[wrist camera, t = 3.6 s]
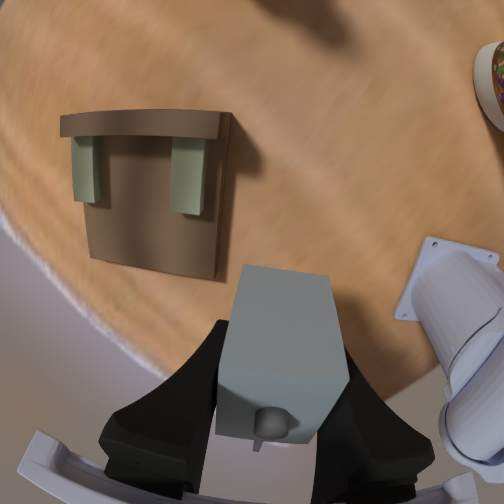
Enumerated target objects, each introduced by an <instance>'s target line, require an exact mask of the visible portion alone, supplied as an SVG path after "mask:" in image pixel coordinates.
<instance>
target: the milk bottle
mask: <svg viewBox="0 0 504 504" xmlns="http://www.w3.org/2000/svg"><path fill="white" fill-rule="evenodd" d="M473 81H474V87H475V91H476V95H477V98H478V100H479V103H480V105H481V107H482V109H483V111H484V113H485V114H486V116H487V117H488V119H489V120H490V121H491V122H492V123H493V124H494V125H495V126H496V127H497V128H498V129H500V130H501V131H503V132H504V41H502V42H496V43H491V44H487V45H485V46H483V47H482V48H481V49H480V50H479V52H478V53H477V55H476V58H475V60H474V65H473Z"/></svg>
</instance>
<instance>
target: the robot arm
mask: <svg viewBox="0 0 504 504" xmlns="http://www.w3.org/2000/svg"><path fill="white" fill-rule="evenodd" d="M434 242H436V243H435V245H433V246H432V244H433V243H434ZM489 255H490V256H489ZM498 261H499V254H498V253H496V252H493V251H489V250H485V249H482V248H478V247H474V246H470V245H466V244H462V243H457V242H453V241H449V240H445V239H441V238H436V237H432V236H428V237H426V238H425V239H424V241H423V244H422V246H421V249H420V252H419V255H418V257H417V260H416V263H415V265H414V268H413V270H412V273H411V275H410V278H409V280H408V282H407V285H406V287H405V290H404V292H403V294H402V296H401V299H400V301H399V303H398V305H397V308H396V310H395V312H394V317H395V319H397V320H407V321H420V323H421V324H422V326H423V328H424V330H425V332H426V334H427V336H428V338H429V340H430V342H431V345H432V347H433V349H434V351H435V353H436V355H437V357H438V359H439V362H440V364H441V366H442V368H443V370H444V373H445V375H446V377H447V379H448V382H447V384H446V386H445V387H444V389H443V392H444V394H445V397H446V400H447V403H446V404H445V405H444V406H443V408H442V410H441V412H440V416H439V433H440V436H441V440H442V442H443V444H444V447H445V448H446V450H447V451H448V453H449V454H450V455H451V456H452V457H453V458H454V459H455V460H456V461H458V462H459V463H461V464H463V465H465V466H468V467H471V468H472V469H474V470H475V471H477V472H478V473H479V474H480V475H481V477H482V478H483V479H484V480H485V481H486V482H488V483H504V272H503V271H502V270H501V269H500V268H499V267H498V266H497V263H498ZM403 314H405V315H403ZM402 315H403V316H402ZM228 325H229V321H226V320H220V319H219V320H217V321H216V323H215V325H214V327H213V329H212V330H211V332H210V333H209V335H208V336H207V337H206V339H205V340H204V341H203V343H202V344H201V345H200V346H199V348H198V349H197V350H196V351H195V353H194V354H193V355H192V356H191V357H190V358H189V359H188V360H187V361H186V362H185V364H184V365H183V366H182V367H180V368H179V369H178V370H177V371H176V372H175V373H174V374H173V375H172V376H171V377H170V378H168V379H167V380H166V381H165V382H163V383H162V384H161V385H160V386H158V387H157V388H156V389H154V390H153V391H151V392H150V393H148V394H147V395H145V396H143V397H142V398H141V399H139V400H137V401H135V402H134V403H132V404H130V405H128V406H126V407H124V408H122V409H120V410H118V411H116V412H114V413H113V414H112V416H111V417H110V419H109V420H108V422H107V423H106V425H105V427H104V429H103V431H102V433H101V436H100V438H99V441H98V442H99V444H100V446H101V448H102V449H103V450H104V452H105V453H106V454H107V455H108V457H109V460H108V463H107V465H106V467H105V466H103V465H100V464H98V463H96V462H93V461H91V460H88V459H86V458H84V457H82V456H80V455H78V454H76V453H74V452H72V451H70V450H69V449H68V448H67V446H66V445H64V444H63V443H62V442H60V441H59V440H57V439H55V438H54V437H52V436H50V435H48V434H47V433H45V432H43V431H41V430H37V432H36V434H35V435H34V437H33V439H32V441H31V443H30V445H29V447H28V449H27V451H26V453H25V455H24V457H23V459H22V461H21V463H20V465H19V467H18V469H17V472H18V473H19V474H21V475H22V476H24V477H25V478H26V479H28V480H29V481H31V482H32V483H34V484H35V485H37V486H38V487H40V488H41V489H43V490H45V491H46V492H48V493H50V494H51V495H53V496H55V497H57V498H59V499H60V500H62V501H64V502H66V503H67V504H265V503H252V502H243V501H235V500H227V499H221V498H215V497H209V496H203V495H198V494H199V488H200V482H201V476H202V470H203V465H204V460H205V454H206V449H207V443H208V438H209V433H210V428H211V423H212V418H213V415H214V411H215V408H216V405H217V389H218V373H219V363H220V359H221V355H222V350H223V346H224V342H225V338H226V333H227V329H228ZM343 346H344V344H343ZM344 351H345V356H346V361H347V367H348V373H349V379H350V380H349V382H348V383H347V385H346V387H345V388H344V390H343V392H342V393H341V395H340V397H339V398H338V400H337V401H336V403H335V405H334V406H333V408H332V409H331V411H330V412H329V414H328V416H327V417H326V419H325V420H324V422H323V423H322V425H321V426H320V428H319V429H318V430H317V453H316V468H315V476H314V485H313V492H312V498H311V503H310V504H479V501H478V496H477V491H476V487H475V482H474V479H473V474H472V471H468V472H465V473H463V474H460V475H457V476H454V477H452V478H450V479H448V480H447V481H445V482H444V483H443V484H441V485H437V486H433V487H430V488H426V489H423V490H419V491H415V485H414V483H416V482H417V480H418V479H417V474H418V473H419V472H421V471H422V470H424V469H425V468H426V467H428V466H429V465H430V464H432V462H433V461H434V460H435V455H434V450H433V447H432V443H431V441H430V439H428V438H427V437H425V436H424V435H422V434H421V433H419V432H418V431H416V430H414V429H413V428H412V427H411V426H409V425H408V424H407V423H406V422H404V421H403V420H402V419H401V418H400V417H399V416H398V415H396V414H395V413H394V412H393V411H392V410H391V409H390V408H389V407H388V406H387V405H386V404H385V403H384V402H383V400H382V399H381V398H380V397H379V396H378V395H377V394H376V392H375V391H374V390H373V389H372V387H371V386H370V385H369V383H368V382H367V381H366V379H365V378H364V376H363V375H362V373H361V372H360V370H359V369H358V367H357V366H356V364H355V363H354V361H353V359H352V358H351V356H350V354H349V353H348V351H347V349H346V348H345V346H344Z"/></svg>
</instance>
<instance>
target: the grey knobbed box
mask: <svg viewBox="0 0 504 504" xmlns="http://www.w3.org/2000/svg"><path fill="white" fill-rule="evenodd" d="M349 380H350V379H349V373H348V367H347V361H346V356H345V351H344V346H343V340H342V335H341V330H340V326H339V321H338V316H337V311H336V307H335V302H334V298H333V293H332V289H331V285H330V280H329V276H324V275H317V274H310V273H303V272H296V271H289V270H282V269H275V268H268V267H262V266H255V265H248V264H243V266H242V270H241V275H240V279H239V283H238V287H237V291H236V296H235V300H234V304H233V308H232V312H231V316H230V321H229V325H228V329H227V333H226V338H225V342H224V346H223V350H222V355H221V359H220V363H219V373H218V389H217V407H216V427H215V434H216V435H223V436H229V437H235V438H242V439H249V440H254V445H253V451H256V452H259V450H260V448H261V445H262V443H263V441H267V442H279V443H293V444H308V443H309V442H310V440H311V439H312V438H313V436H314V435H315V433H316V432H317V430H318V429H319V428H320V426H321V425H322V423H323V422H324V420H325V419H326V417H327V416H328V414H329V412H330V411H331V409H332V408H333V406H334V405H335V403H336V401H337V400H338V398H339V397H340V395H341V393H342V392H343V390H344V388H345V387H346V385H347V383H348V382H349Z"/></svg>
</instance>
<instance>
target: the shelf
mask: <svg viewBox="0 0 504 504" xmlns="http://www.w3.org/2000/svg"><path fill="white" fill-rule="evenodd" d="M230 120H231V113H230V112H217V111H202V110H176V109H138V110H113V111H98V112H87V113H78V114H70V115H63V116H60V137H71V153H72V178H73V192H74V201H79V202H84V213H85V222H86V231H87V238H88V246H89V252H90V258H93V259H98V260H103V261H108V262H113V263H118V264H123V265H129V266H134V267H139V268H145V269H150V270H156V271H161V272H167V273H172V274H178V275H184V276H190V277H196V278H202V279H208V280H214V278H215V276H216V273H217V262H218V248H219V235H220V223H221V211H222V199H223V188H224V178H225V167H226V157H227V148H228V138H229V129H230Z"/></svg>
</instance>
